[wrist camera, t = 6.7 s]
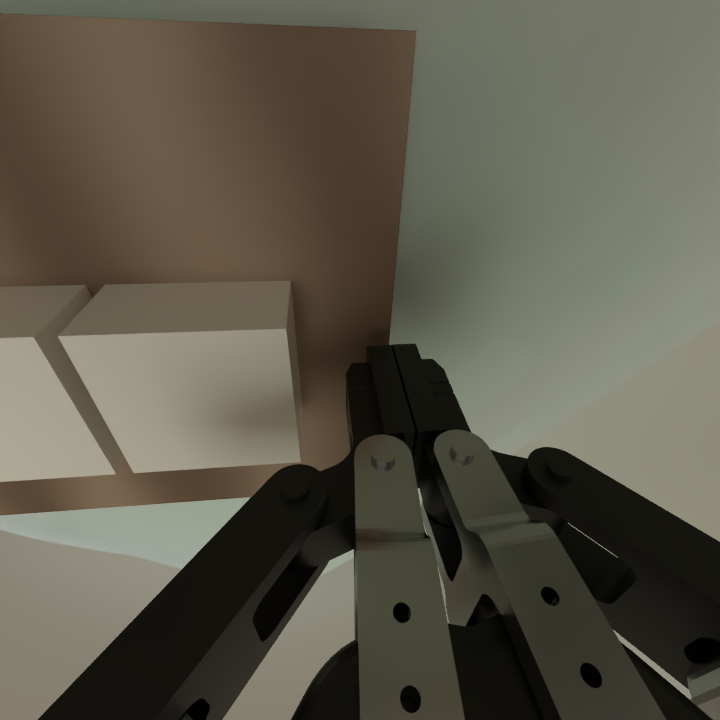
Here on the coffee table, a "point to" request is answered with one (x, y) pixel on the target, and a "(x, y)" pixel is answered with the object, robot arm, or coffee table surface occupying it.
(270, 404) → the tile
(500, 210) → the coffee table surface
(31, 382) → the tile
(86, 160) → the block
